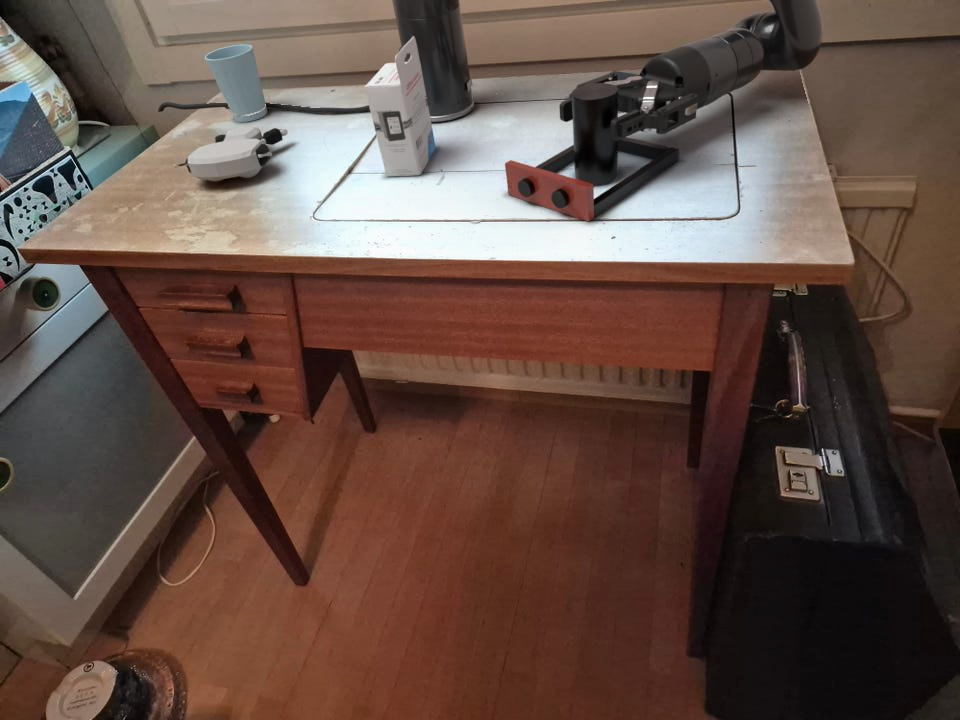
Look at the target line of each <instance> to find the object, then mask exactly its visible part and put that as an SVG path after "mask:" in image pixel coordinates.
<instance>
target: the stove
mask: <svg viewBox="0 0 960 720" xmlns="http://www.w3.org/2000/svg"><path fill="white" fill-rule="evenodd" d="M618 152H623V153H626V154H631V155H635V156H637V157H642V158H646V159H651V161H649V162H647V163H646V164H645V165H643V166H642V167H640V168H638V169H637V170H636V171H634V172H632V173H631V174H629V175H628V176H627V177H625V178H624V179H622V180H620V181H619V182H617V183H616V184H614V185H612V187H609V188H608V189H607V190H605V191H604V192H602V193H601V194H600V195H597V196H596V197H595V196H594V195H595V193H594V191H595V190H594V186H593V184H591V183H587V182H584V181H581V180H577V179H575V177H574V178H573V177H571V176H567V175H563V174H560V173H557V172H558V171H560V170H561V169H563V168H565V167H566V166H568V165H570V164H572V163H573V162H574V144H572V145H570V146H569V147H567V148H565V149H564V150H561V151H560V152H558V153H557V154H555V155H553V156H551V157H549V158H548V159H546V160H544V161H543V162H541V163H539V164H538V165H536V166H532V165H529V164H525V163H522V162H518V161H516V160H512V159H510V160H508V161H506V162H505V163H504V167H505V177H506V186H507V194H508V196H511V197H513V198H517V199H520V200H523V201H525V202H528V203H531V204H535V205H537V206H540V207H543V208H547V209H550V210H551V211H555V212H558V213H561V214H564V215H566V216H570V217H573V218H575V219H576V218H577V219H579V220H582V221H585V222H587V223H588V222H591V221H592V220H594V219H595V218H597V217H598V216H600V215H601V214H602V213H604V212H606V211H607V210H609V209H611V207H613V206H614V205H616V204H618V203H619V202H621V201H622V200H623V199H625V198H626V197H628V196H630V194H632V193H634V192H635V191H636V190H638V189H639V188H641V187H642V186H644V185H646V183H648V182H649V181H651V180H652V179H654V178H656V177H657V176H659V175H661V173H663V172H664V171H666V170H667V169H669V168H670V167H672V166H673V165H675V164H676V163H678V162H679V154H680V149H679V148H675V147H671V146H666V145H663V144H657V143H653V142H650V141H645V140H642V139H641V140H640V139H636V138H632V137H629V136H627V137H625V138H623V139H620V140H618Z"/></svg>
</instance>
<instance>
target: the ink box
mask: <svg viewBox="0 0 960 720" xmlns="http://www.w3.org/2000/svg"><path fill="white" fill-rule="evenodd" d="M406 53H407V54H409V53H410V56H411V57H410V59H409V60H408V62H405V58H406ZM364 90H365V95H366V98H367V103H368V105H369V107H370V111H369V112H370V115H371V119H372V123H373V126H374V131H375V135H376V140H377V143H378V147H379V152H380V156H381V160H382V164H383V168H384V172H385V176H386V177H408V176H409V177H411V176H420V175H422V173H423V171H424V170H425V168H426V167H427V165H428V163H429V161H430V159H431V158H432V156H433V154H434V152H435V150H436V147H437V146H436V141H435V136H434V131H433V124H432V122H431V119H430V113H429V108H428V103H427V97H426V91H425V86H424V80H423V75H422V69H421V64H420V60H419V54H418V49H417V44H416V39H415V37H414V36H413V37H412V38H411V39H410V40H409V41H408V42H407V43H406V44H405V45H404V47H403V48H402V49H401V50H400V51H399V50H398V52H397V53H396V55H395V56H394V62H386V63H385V64H384V65H383V66H382V67H381V68H380V69H379V70H378V71H377V72H376V74H374V76H373V77H372V78H371V79H370V80H369V81H368V82H367V83H366V84H365V85H364Z"/></svg>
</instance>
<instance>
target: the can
mask: <svg viewBox="0 0 960 720" xmlns="http://www.w3.org/2000/svg"><path fill="white" fill-rule="evenodd" d="M571 93H572V115H573V120H572V133H573V134H572V135H573V136H572V137H573V145H574V161H573V162H574V179H577V180H581V181H584V182H587V183H591V184H593V187H600V186H605V185H608V184H610V183H612V182H614V181H615V180H617V178H618V174H619V151H618V141H616V140H614V139H611V121H612V120H613V119H615V118H617V117H619V113H618V88H617V87H616V86H614V85H612V84H607V83H593V84H587V85H583V86H580V87H578V88H577V87H576V88H575V89H573V90H572V91H571Z"/></svg>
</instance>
